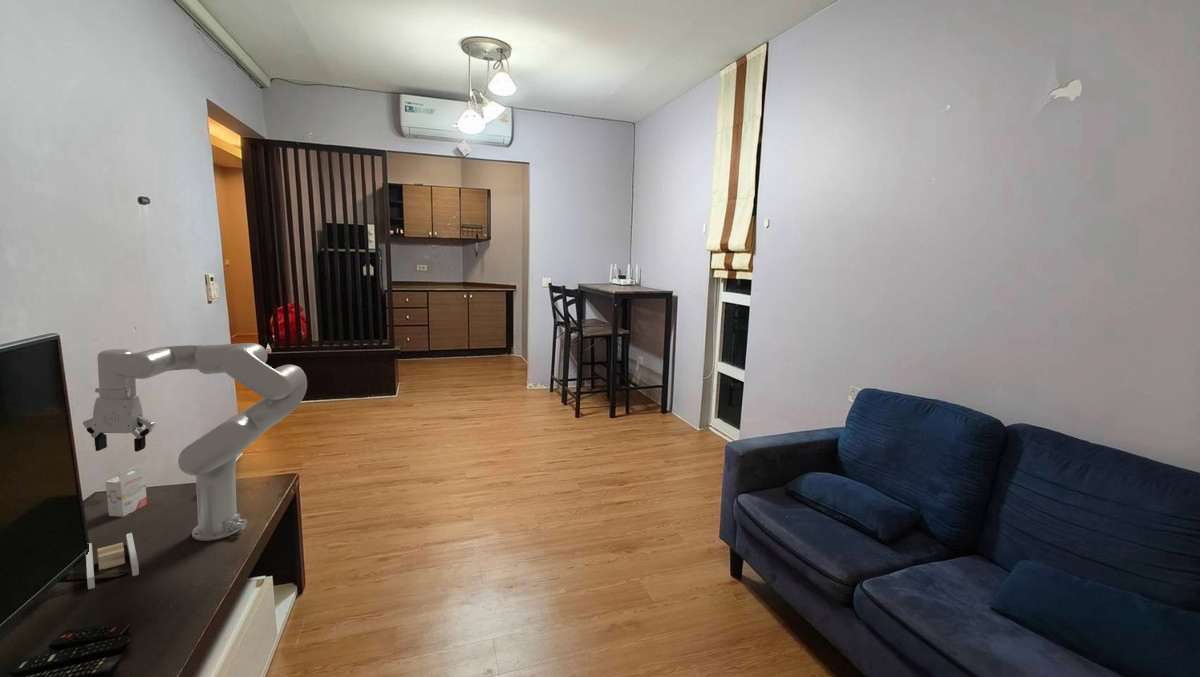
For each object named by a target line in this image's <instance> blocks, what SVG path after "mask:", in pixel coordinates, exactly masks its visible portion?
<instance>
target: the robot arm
mask: <svg viewBox="0 0 1200 677" xmlns="http://www.w3.org/2000/svg"><path fill="white" fill-rule="evenodd" d="M267 361H268V352H267V350H266V348H265V347H264V346H263V345H261V344H259V343H254V342H243V343H241V342H240V343H226V344H225V343H223V344H211V345H210V344H207V345H206V344H205V345H203V344H202V345H201V344H200V345H191V344H190V345H173V346H172V345H171V346H170V345H169V346H160V347H154V348H151V349H146V350H143V351H139V352H133V351H132V350H129V349H125V348H124V349H122V348H121V349H119V348H117V349H106V350H102V351H100V352H98V354H97V373H98V387H97V388H95V389H94V392H95V393H96V394H97V393H98V396H99V397H97V398H96V399H95V401H94V405H93V412H92V417H91V418H89V419H87V420H84V421H83V422H82V425H83V426H84V428H85V429H86V431H87V433H89V434H90V435H91V438H92V439H94V447H95V448H94V449H95V452H99V451H102V450H104V449H106V448H108V440H107V434H130V433H132V435H133V436H134V437H135V438H134V439H133V446H134V452H136V453H137V452H140V451H143V450H144V449H145V448H146V446H147V445H146V444H147V443H146V436H147V435H149V434H150V433H151V432H152V431H153V428H154V427H155V425H156V422H155V421H153V420H151V419H148V418H146V417H144V413H143V409H142V403H141V400H140V397H139V395H137V387H136V386H137V384H136V379H137V380H138V379H139V380H142V379H143V380H144V379H149V378H151V377H152V378H153V377H154V376H157V375H158V376H159V375H160V374H163V373H166V372H171V371H182V370H183V371H185V370H198V371H199V372H200V373H201V374H205V375H213V374H214V375H215V374H223V373H224V374H226V375H228V376H229V377H230V378H232V379H234V380H235V381H236V382H238V383H240V384H241V385H242V386H244V387H246V388H247V389H248V390H251V391H252V392H253V393H255V394H257V395H259V396H260V397H262V398H261V399H260V400H258V401H257V402H256V403H254V404H253V405H251V406H250V407H248V408H247V409H245V410H243V411H241V412H239V413H237V414H235V415H234V416H232V417H230V418H228V419H227V420H225V421H224V422H222V423H220V424H219V425H218V426H216V427H215V428H213V429H211V430H210V431H209V432H207V433H206V434H203V435H202V436H201V437H199V438H198V439H196V440H194V441H192V443H190V444H188V445H187V446H185V448H183V449H182V450H181V452H180V453H179V456H178V458H177V460H178V461H177V463H178V464H177V465H178V467H179V469H180V471H181V472H183V473H185V474H186V475H188V476H195V479H196V480H195V483H196V484H195V485H196V487H195V488H196V489H195V490H196V507H197V511H196V512H197V525H196V526H195V527H194V528H193V529H192V531H191V537H192V539H195V540H197V541H203V542H206V541H216V540H221V539H223V538H228V537H230V536H232V535H234V534H236V533H238V532H239V531H242V530H243V531H244V529H246V525H247V523H248V520H247V519H245V518H244V519H242V518H241V513H237V512H238V510H237V489H236V488H237V486H236V483H237V482H236V480H237V479H236V477H237V476H236V463H237V462H236V461H237V456H238V454H240V453H241V452H242V451H243V450H245V449H247V448H248V447H250V445H252V444H253V443H254V442H255V441H256V440H258V439H259V438H260V436H261V435H263V433H266V432H267V431H268V430H269V429H271V428H273V427H274V426H275V425H277V424H278V423H279V422H281V421H282V420H284V419H285V418H286V417H287V416H289V415H290V414H291V413H293V412H294V411H295V410H296V409H297V408H298V406H299V405H301V402H302V401H303V399H304V397H305V396H306V393H307V389H308V380H307V379H308V378H307V375H306V373H305V372H304V370H303V369H302V367H301V366H297V365H294V364H284V365H281V366H278V367H276V368H272V366H270V365H269V364H267V363H266V362H267ZM144 426H145V428H143V427H144Z"/></svg>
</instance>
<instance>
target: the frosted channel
mask: <svg viewBox="0 0 1200 677" xmlns="http://www.w3.org/2000/svg"><path fill="white" fill-rule="evenodd" d="M125 535H126V536H125V537H126V546H127V552H128V557H129V563H130V568H131V572H132V573H131V574H132V577H135V576H138V575H139V574H140V570H139V569H140V568H139V560H138V556H137V551H136V546H135V542H134V536H133V533H132V532H129V533H126V534H125ZM88 544H89V552H88V554H87V555H86V554H85V561H86V563H85V564H86V580H87V589H88V590H91V589H95V587H96V586H95V585H96V583H95V570H94V557H93V556H94V554H93V543H92V542H89V543H88ZM139 576H140V575H139Z"/></svg>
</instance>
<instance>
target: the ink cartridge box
mask: <svg viewBox="0 0 1200 677" xmlns="http://www.w3.org/2000/svg"><path fill="white" fill-rule="evenodd" d="M146 486H147V485H146V474H145V468H144V464H143V463H140V464H138V465H135V466H133V467H130V468H128V469H126V470H123V471H121V472H118V476H115V477H114V478H111V479H108V480H106V481H105V490H106V501H107V509H108V510H107V511H108V516H109V517H122V518H123V517H126V516H128V515H130V514H132V513H134V512H135V511H137V510H139V509H141V508H143V507H145V506H147V505H148V497H147V487H146ZM129 513H130V514H129Z"/></svg>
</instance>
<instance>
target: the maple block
mask: <svg viewBox="0 0 1200 677" xmlns="http://www.w3.org/2000/svg"><path fill="white" fill-rule="evenodd" d="M96 550H97V560H98V563H97V564H98V570H99V571H102V570H101V569H103V570H106V569H109V568H113V567H117V566H120V565H124V564H126V559H125V557H126V556H125V547H124V542H118V543H115V544H112V545H107V546H103V547H99V548H97V549H96Z"/></svg>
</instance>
